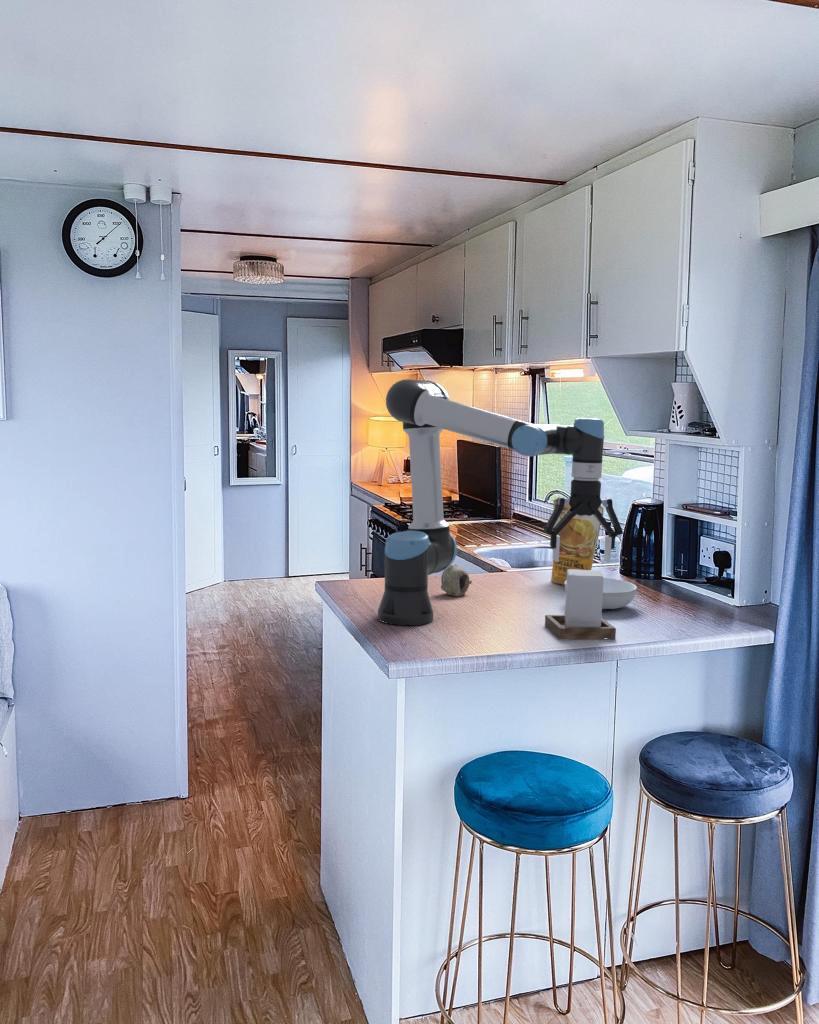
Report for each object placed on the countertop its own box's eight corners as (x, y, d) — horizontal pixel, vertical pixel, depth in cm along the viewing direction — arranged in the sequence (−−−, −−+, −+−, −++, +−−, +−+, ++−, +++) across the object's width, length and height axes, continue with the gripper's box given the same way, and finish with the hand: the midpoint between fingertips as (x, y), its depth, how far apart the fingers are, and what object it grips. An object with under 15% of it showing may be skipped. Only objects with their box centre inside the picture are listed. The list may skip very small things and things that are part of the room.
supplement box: (601, 634, 220) (604, 576, 218) (565, 632, 221) (568, 574, 219) (598, 625, 229) (601, 569, 227) (564, 623, 230) (566, 568, 228)
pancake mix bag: (556, 578, 295) (560, 497, 292) (601, 588, 280) (605, 503, 277) (543, 581, 291) (546, 498, 287) (587, 591, 276) (592, 504, 273)
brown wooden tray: (559, 639, 217) (560, 628, 217) (544, 625, 231) (545, 614, 231) (615, 639, 219) (615, 628, 218) (597, 624, 233) (597, 614, 233)
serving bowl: (554, 609, 250) (555, 585, 250) (575, 596, 269) (576, 574, 268) (625, 618, 241) (627, 594, 240) (643, 604, 259) (644, 581, 258)
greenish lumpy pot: (443, 603, 265) (433, 574, 263) (447, 593, 273) (437, 564, 271) (473, 596, 263) (463, 566, 260) (475, 586, 271) (466, 557, 268)
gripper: (542, 479, 215) (537, 563, 218) (638, 481, 218) (633, 564, 221) (534, 476, 223) (530, 557, 225) (628, 478, 225) (623, 558, 228)
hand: (581, 561), depth 223 cm, fingers open, 13 cm apart
